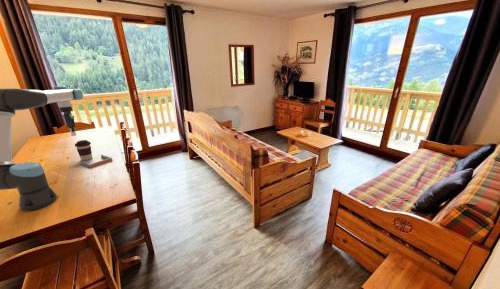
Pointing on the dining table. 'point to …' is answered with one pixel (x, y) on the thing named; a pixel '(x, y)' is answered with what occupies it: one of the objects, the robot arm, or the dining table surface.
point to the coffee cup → (84, 149)
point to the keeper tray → (107, 159)
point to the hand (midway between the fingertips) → (73, 135)
